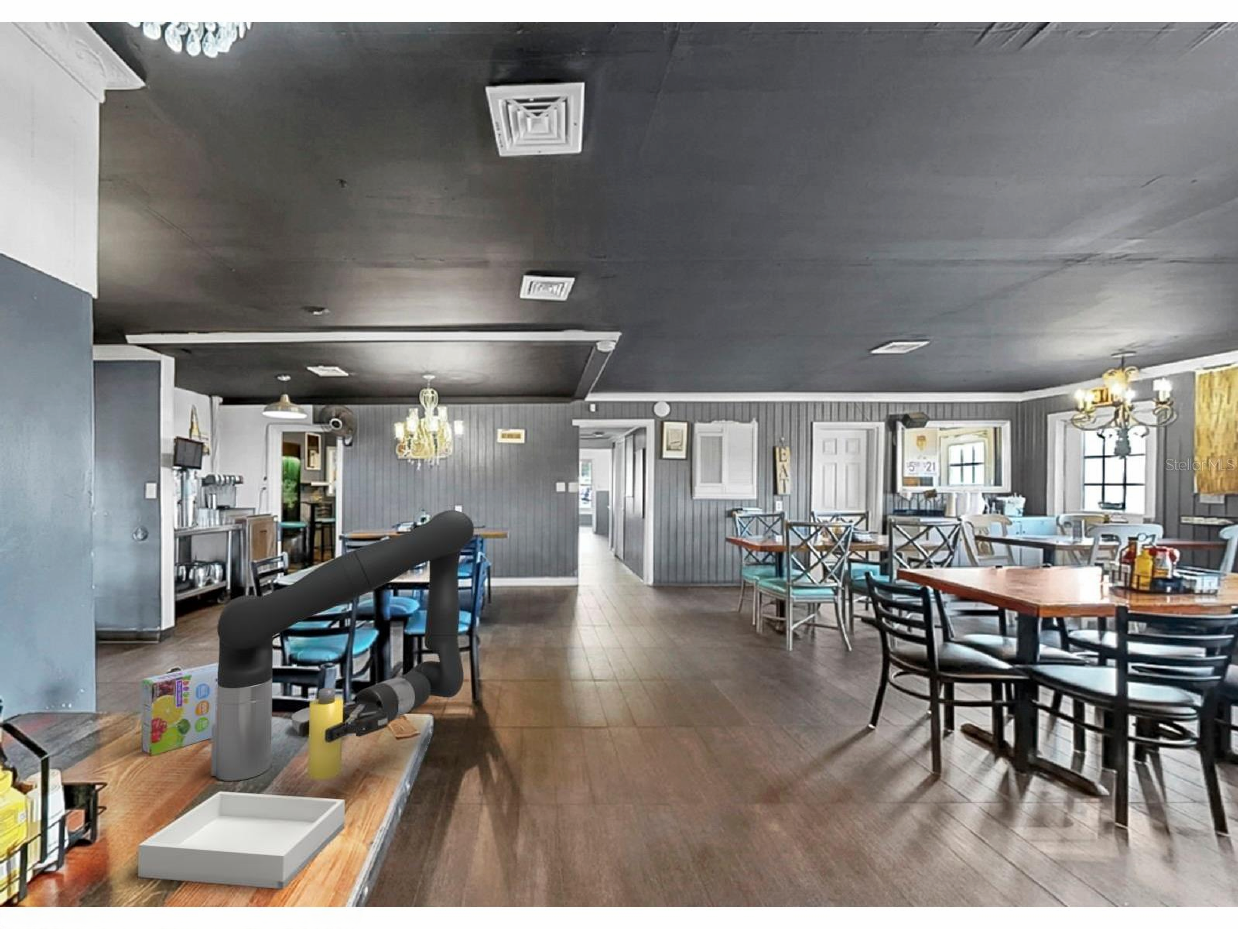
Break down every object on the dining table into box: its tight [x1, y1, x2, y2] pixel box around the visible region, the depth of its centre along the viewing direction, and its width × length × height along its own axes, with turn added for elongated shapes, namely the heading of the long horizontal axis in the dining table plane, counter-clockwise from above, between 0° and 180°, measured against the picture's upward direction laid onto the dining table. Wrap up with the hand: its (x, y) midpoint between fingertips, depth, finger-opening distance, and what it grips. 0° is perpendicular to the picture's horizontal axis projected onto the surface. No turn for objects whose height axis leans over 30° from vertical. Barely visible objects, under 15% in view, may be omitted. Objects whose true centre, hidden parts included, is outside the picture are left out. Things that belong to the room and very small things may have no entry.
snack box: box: [141, 662, 218, 756], centre depth 144 cm, size 21×6×15 cm, turn 144°
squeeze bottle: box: [307, 687, 344, 781], centre depth 113 cm, size 5×5×14 cm
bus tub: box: [137, 791, 346, 890], centre depth 100 cm, size 22×16×4 cm
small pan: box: [291, 706, 310, 737], centre depth 147 cm, size 11×18×4 cm, turn 50°
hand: (314, 733), depth 110 cm, fingers closed on squeeze bottle, 5 cm apart
